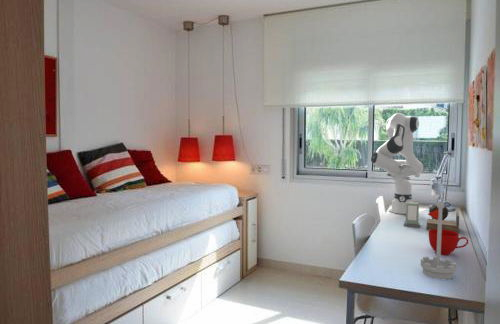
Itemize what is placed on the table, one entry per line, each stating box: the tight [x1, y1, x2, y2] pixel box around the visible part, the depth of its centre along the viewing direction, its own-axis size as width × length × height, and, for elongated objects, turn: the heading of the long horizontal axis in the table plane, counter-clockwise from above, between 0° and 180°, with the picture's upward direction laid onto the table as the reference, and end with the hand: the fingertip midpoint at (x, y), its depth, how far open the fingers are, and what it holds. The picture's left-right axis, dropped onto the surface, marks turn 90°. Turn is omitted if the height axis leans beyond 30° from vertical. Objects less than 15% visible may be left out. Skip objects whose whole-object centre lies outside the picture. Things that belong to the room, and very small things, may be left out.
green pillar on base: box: [403, 201, 421, 229], centre depth 236 cm, size 9×9×14 cm
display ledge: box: [426, 211, 460, 234], centre depth 228 cm, size 14×17×10 cm
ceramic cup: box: [428, 229, 469, 256], centre depth 179 cm, size 13×17×10 cm
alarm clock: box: [428, 197, 449, 220], centre depth 247 cm, size 11×5×16 cm, turn 84°
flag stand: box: [419, 201, 457, 280], centre depth 151 cm, size 13×13×30 cm
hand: (413, 177), depth 237 cm, fingers open, 8 cm apart
